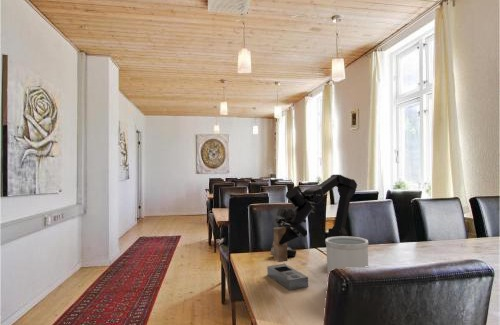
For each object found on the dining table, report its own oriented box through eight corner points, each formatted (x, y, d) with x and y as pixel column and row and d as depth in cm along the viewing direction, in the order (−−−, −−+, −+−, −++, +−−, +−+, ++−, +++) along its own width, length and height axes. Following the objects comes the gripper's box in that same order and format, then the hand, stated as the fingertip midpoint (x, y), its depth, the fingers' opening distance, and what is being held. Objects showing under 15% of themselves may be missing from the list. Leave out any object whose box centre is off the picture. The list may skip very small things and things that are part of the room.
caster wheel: (296, 259, 155) (291, 261, 146) (275, 252, 160) (269, 254, 151) (299, 246, 156) (294, 248, 147) (278, 240, 160) (272, 241, 151)
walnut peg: (282, 258, 125) (282, 226, 126) (287, 260, 122) (286, 228, 122) (274, 259, 124) (273, 227, 124) (278, 262, 120) (277, 229, 121)
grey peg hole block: (267, 274, 125) (267, 265, 125) (284, 272, 128) (284, 263, 128) (289, 290, 108) (289, 280, 108) (308, 286, 111) (308, 276, 111)
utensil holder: (319, 284, 114) (317, 237, 114) (353, 279, 118) (352, 234, 118) (341, 300, 99) (339, 246, 100) (379, 294, 103) (377, 242, 104)
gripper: (278, 199, 134) (255, 226, 129) (299, 202, 116) (274, 234, 112) (294, 215, 136) (272, 243, 132) (317, 221, 119) (293, 253, 115)
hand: (277, 243), depth 122 cm, fingers closed on walnut peg, 4 cm apart
